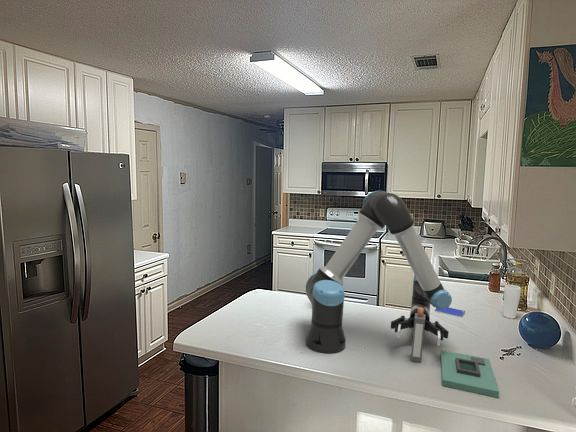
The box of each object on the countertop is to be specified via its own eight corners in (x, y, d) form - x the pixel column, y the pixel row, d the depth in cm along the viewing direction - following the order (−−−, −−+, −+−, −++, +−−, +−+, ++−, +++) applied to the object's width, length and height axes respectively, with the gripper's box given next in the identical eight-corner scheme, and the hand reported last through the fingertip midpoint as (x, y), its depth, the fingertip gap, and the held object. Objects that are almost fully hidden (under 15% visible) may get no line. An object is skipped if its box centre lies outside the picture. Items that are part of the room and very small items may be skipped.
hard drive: (465, 310, 190) (438, 304, 197) (462, 315, 183) (434, 309, 190) (465, 313, 190) (438, 307, 197) (462, 319, 183) (434, 312, 190)
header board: (440, 355, 145) (441, 346, 145) (488, 364, 140) (489, 355, 140) (442, 385, 125) (443, 376, 124) (498, 397, 120) (499, 387, 119)
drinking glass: (503, 318, 185) (507, 287, 183) (499, 313, 191) (502, 283, 189) (519, 320, 183) (523, 289, 181) (514, 315, 189) (518, 285, 187)
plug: (411, 354, 145) (415, 305, 142) (421, 356, 144) (426, 306, 141) (410, 361, 140) (415, 310, 137) (421, 363, 139) (425, 311, 136)
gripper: (452, 331, 154) (455, 355, 134) (387, 320, 163) (381, 341, 143) (454, 313, 153) (457, 334, 133) (388, 303, 161) (382, 321, 142)
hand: (418, 338), depth 138 cm, fingers open, 13 cm apart
